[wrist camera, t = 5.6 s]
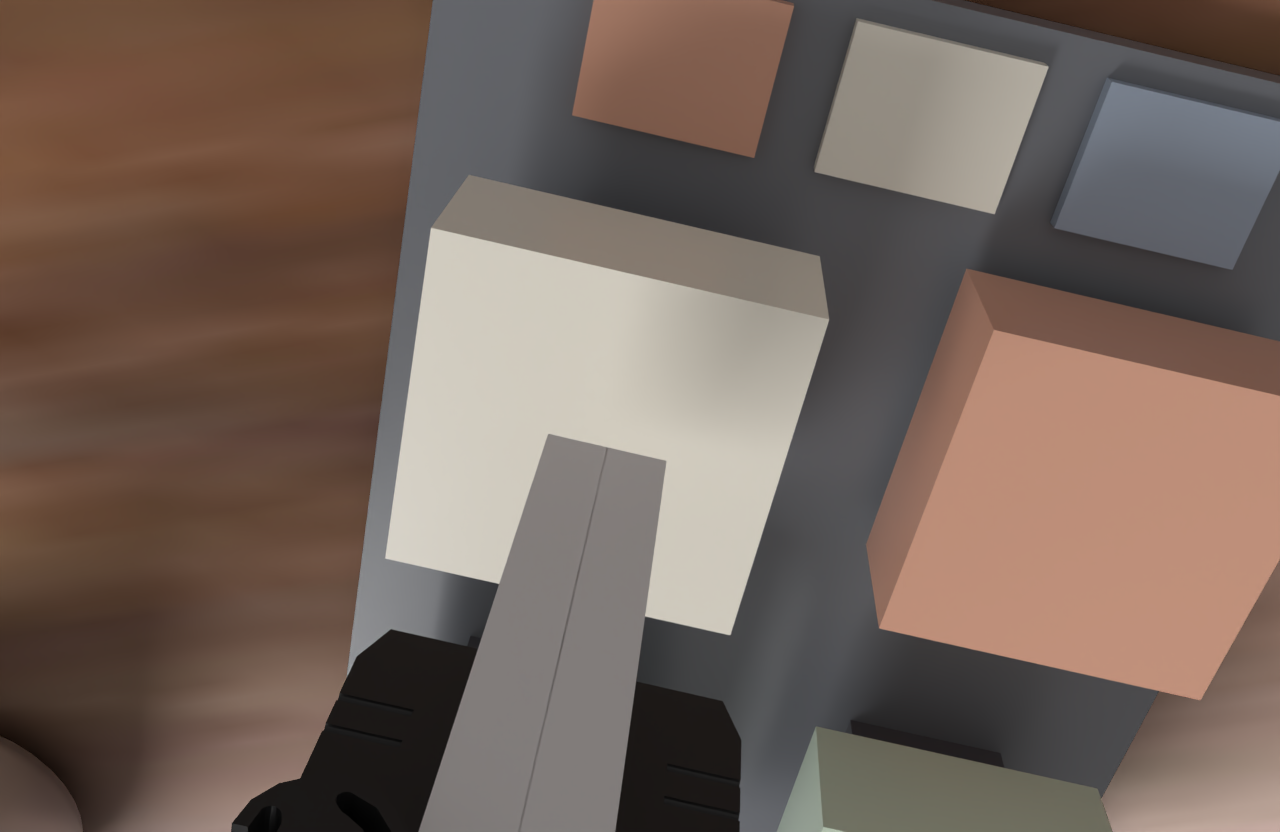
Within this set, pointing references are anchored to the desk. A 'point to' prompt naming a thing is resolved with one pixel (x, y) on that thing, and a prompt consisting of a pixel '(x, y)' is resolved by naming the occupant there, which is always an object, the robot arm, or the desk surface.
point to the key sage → (927, 793)
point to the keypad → (848, 296)
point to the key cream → (603, 382)
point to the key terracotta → (1084, 488)
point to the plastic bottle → (33, 795)
